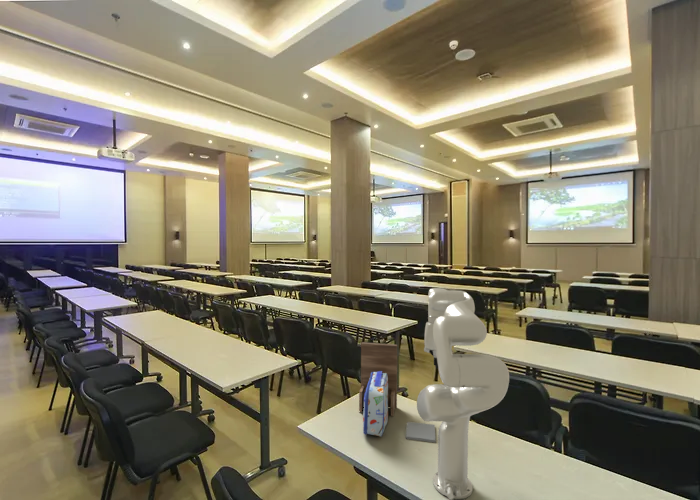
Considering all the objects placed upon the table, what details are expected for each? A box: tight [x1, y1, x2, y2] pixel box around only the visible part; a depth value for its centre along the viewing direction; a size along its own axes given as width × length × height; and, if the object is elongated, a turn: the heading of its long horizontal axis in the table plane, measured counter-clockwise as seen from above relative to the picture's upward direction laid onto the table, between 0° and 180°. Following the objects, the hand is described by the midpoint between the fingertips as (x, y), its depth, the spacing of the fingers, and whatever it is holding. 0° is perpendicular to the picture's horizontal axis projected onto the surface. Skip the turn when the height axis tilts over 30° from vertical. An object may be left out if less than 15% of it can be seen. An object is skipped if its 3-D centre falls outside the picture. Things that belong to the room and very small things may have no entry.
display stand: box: [358, 341, 398, 417], centre depth 163 cm, size 10×18×31 cm, turn 77°
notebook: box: [405, 421, 437, 443], centre depth 143 cm, size 12×12×2 cm
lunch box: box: [362, 371, 389, 437], centre depth 149 cm, size 28×10×22 cm, turn 171°
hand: (437, 367), depth 129 cm, fingers closed
